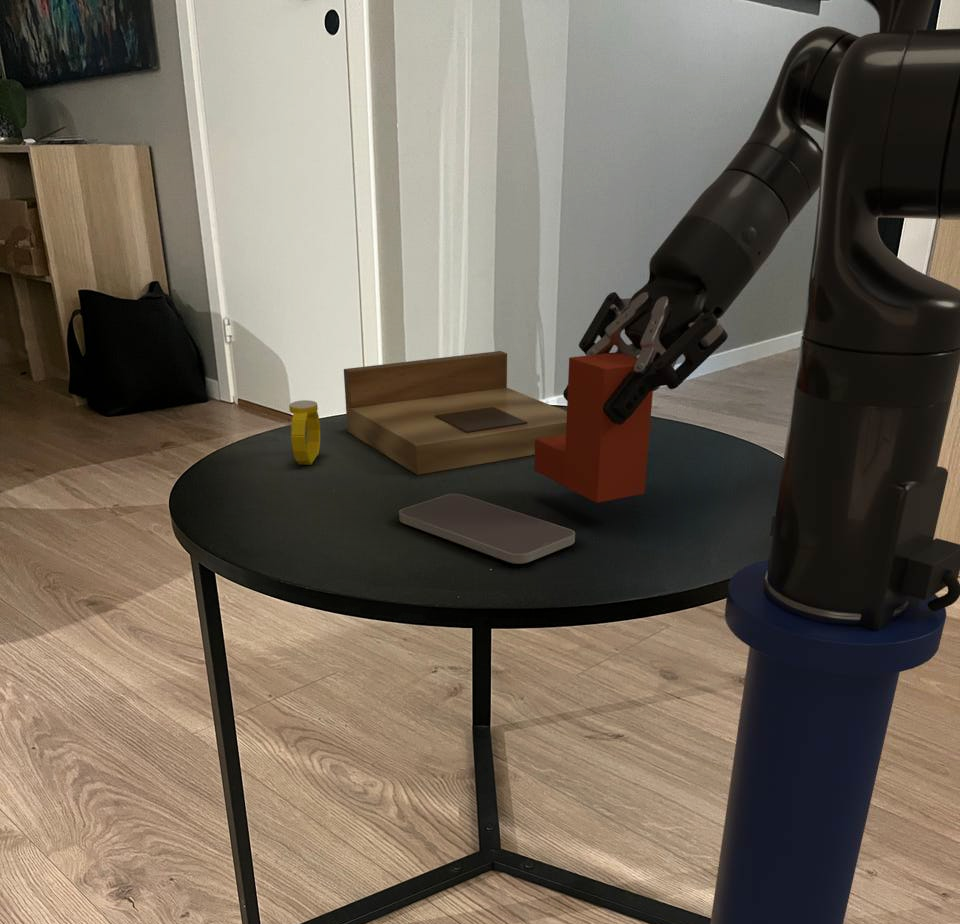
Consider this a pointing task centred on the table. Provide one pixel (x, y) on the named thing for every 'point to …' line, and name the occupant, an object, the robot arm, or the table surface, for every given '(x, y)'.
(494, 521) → the smartphone
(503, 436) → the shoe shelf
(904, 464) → the robot arm
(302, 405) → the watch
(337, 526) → the table surface
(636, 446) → the boot
